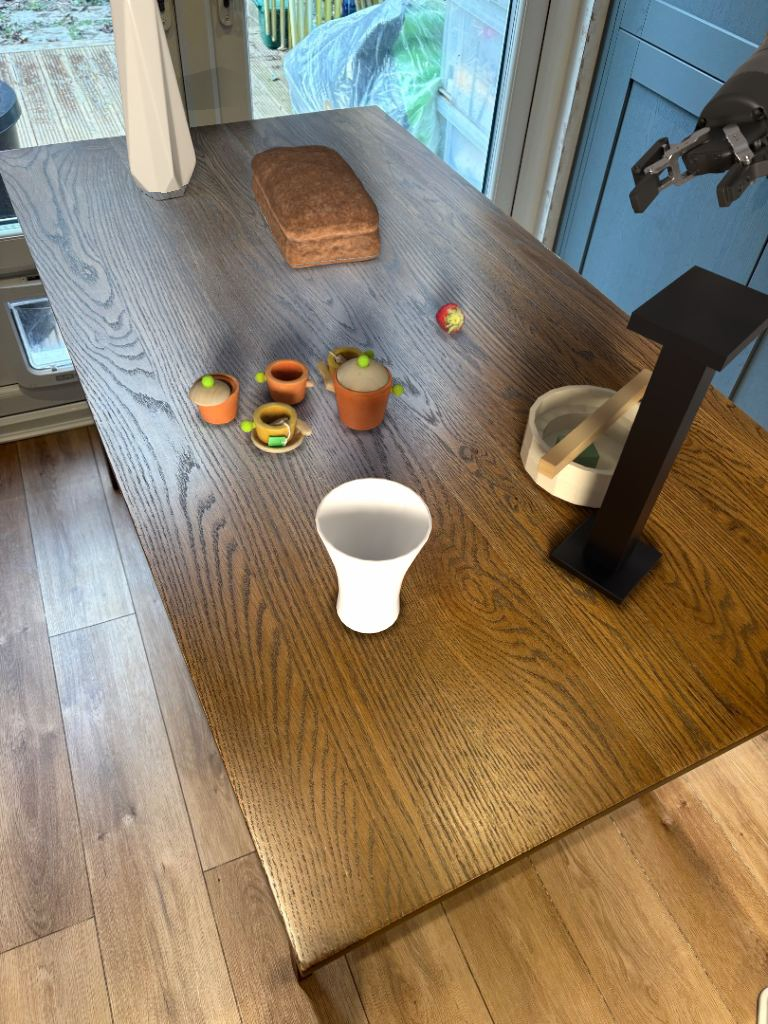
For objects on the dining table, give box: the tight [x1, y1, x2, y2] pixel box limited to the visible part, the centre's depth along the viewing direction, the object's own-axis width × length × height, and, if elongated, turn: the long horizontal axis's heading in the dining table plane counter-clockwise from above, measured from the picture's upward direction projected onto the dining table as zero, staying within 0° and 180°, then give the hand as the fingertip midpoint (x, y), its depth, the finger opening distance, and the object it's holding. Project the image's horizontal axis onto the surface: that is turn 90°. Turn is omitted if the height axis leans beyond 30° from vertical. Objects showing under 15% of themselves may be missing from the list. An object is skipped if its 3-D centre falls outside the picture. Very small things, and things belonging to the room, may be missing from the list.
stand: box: [548, 264, 768, 606], centre depth 71 cm, size 11×9×32 cm
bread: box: [250, 144, 381, 269], centre depth 129 cm, size 17×29×11 cm, turn 19°
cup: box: [314, 477, 433, 634], centre depth 72 cm, size 10×10×14 cm
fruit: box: [435, 302, 466, 335], centre depth 111 cm, size 4×6×5 cm
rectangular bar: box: [537, 367, 653, 479], centre depth 89 cm, size 24×2×2 cm, turn 138°
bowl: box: [519, 384, 641, 509], centre depth 92 cm, size 16×16×6 cm
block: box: [555, 435, 600, 469], centre depth 91 cm, size 4×4×4 cm
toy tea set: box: [188, 346, 405, 454], centre depth 94 cm, size 26×16×10 cm, turn 116°
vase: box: [109, 0, 197, 193], centre depth 127 cm, size 12×12×33 cm
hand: (676, 202), depth 70 cm, fingers open, 8 cm apart
